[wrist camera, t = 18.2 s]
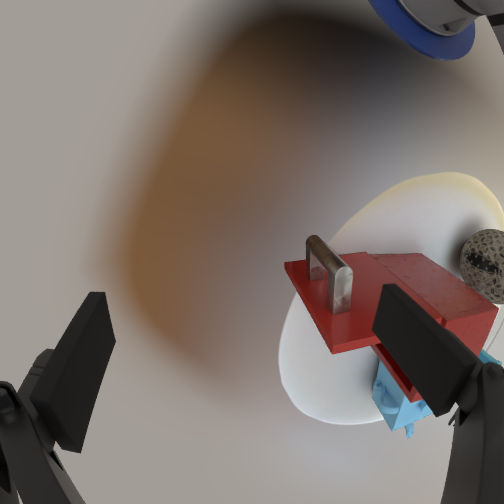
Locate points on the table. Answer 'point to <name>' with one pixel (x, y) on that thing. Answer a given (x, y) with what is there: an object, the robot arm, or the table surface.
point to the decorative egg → (484, 264)
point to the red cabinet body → (438, 307)
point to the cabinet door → (344, 294)
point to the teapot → (396, 403)
